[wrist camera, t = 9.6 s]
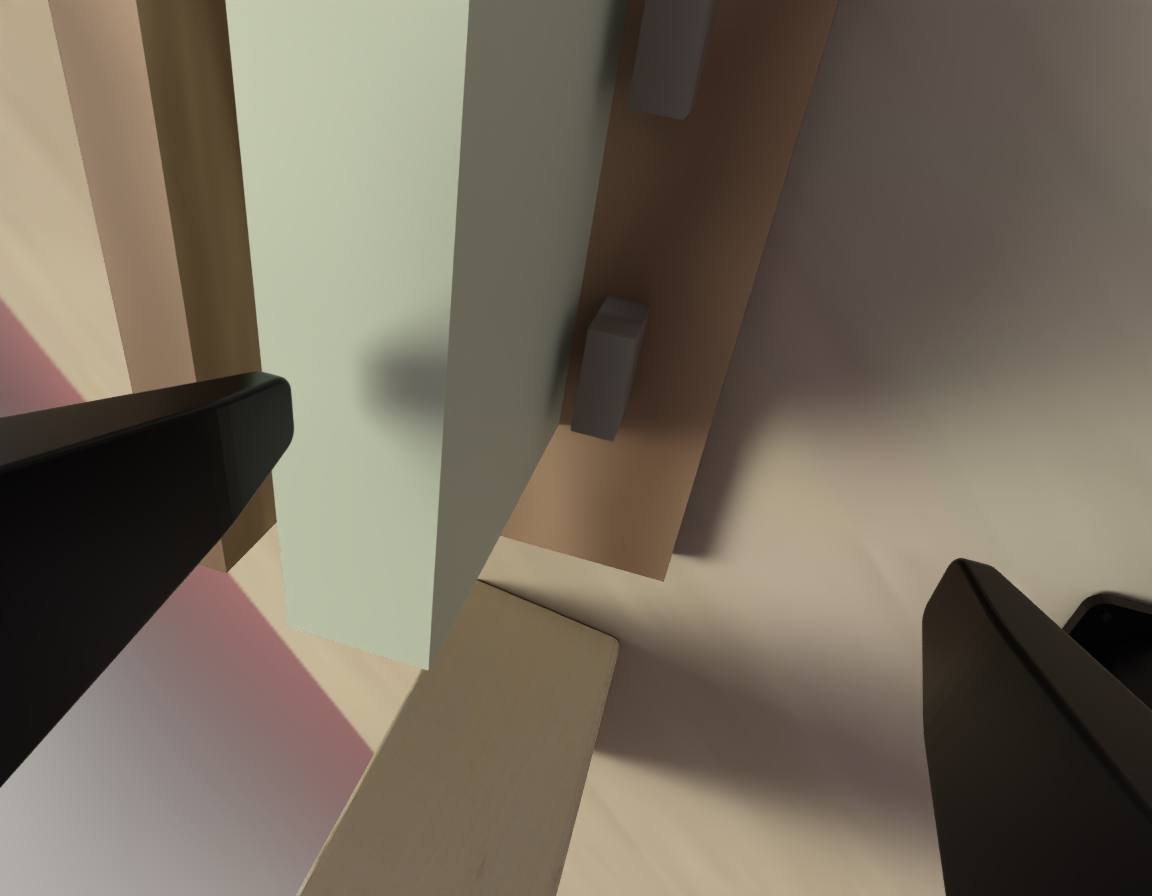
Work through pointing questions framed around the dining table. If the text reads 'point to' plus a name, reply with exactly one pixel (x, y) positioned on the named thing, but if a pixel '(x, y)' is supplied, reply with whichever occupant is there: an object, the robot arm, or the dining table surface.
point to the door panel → (415, 281)
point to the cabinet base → (613, 264)
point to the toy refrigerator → (478, 762)
